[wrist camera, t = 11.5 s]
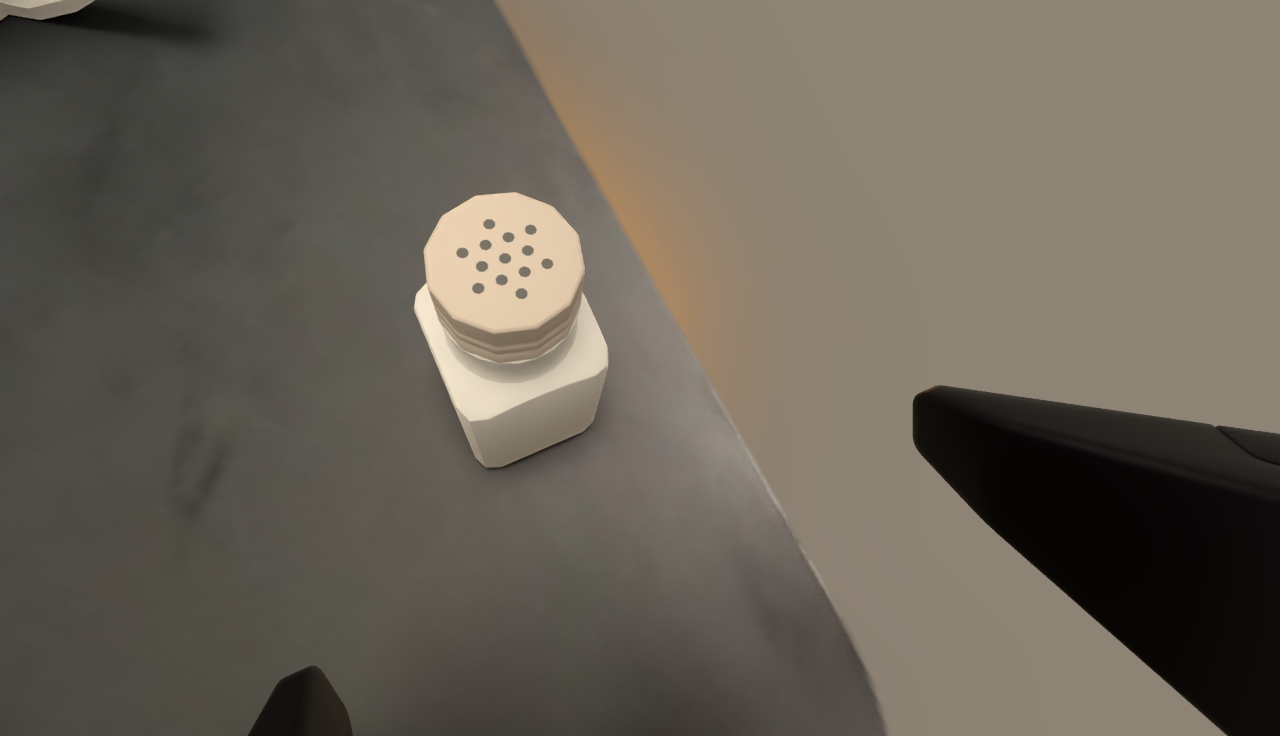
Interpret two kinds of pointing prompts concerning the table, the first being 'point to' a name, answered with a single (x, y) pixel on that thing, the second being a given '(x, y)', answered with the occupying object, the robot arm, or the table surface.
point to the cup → (40, 8)
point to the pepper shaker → (512, 325)
